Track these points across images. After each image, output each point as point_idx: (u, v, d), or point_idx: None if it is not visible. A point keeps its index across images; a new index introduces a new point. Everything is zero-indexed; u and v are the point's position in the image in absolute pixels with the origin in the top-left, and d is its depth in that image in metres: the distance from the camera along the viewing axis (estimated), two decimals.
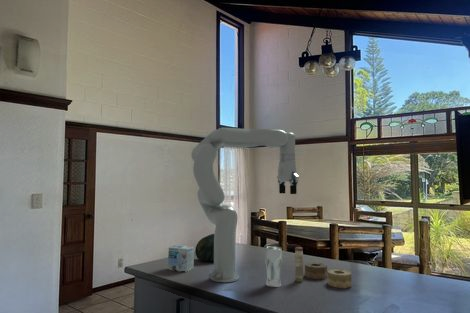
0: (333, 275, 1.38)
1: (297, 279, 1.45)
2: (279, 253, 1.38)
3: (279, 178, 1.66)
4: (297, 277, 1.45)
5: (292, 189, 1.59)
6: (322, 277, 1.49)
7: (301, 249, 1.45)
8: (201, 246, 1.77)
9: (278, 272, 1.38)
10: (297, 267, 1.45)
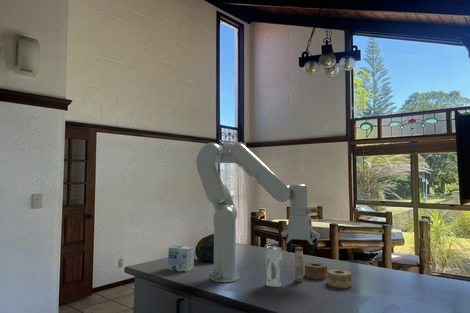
0: (333, 275, 1.38)
1: (297, 279, 1.45)
2: (279, 253, 1.38)
3: None
4: (297, 277, 1.45)
5: None
6: (322, 277, 1.49)
7: (301, 249, 1.45)
8: (201, 246, 1.77)
9: (278, 272, 1.38)
10: (297, 267, 1.45)
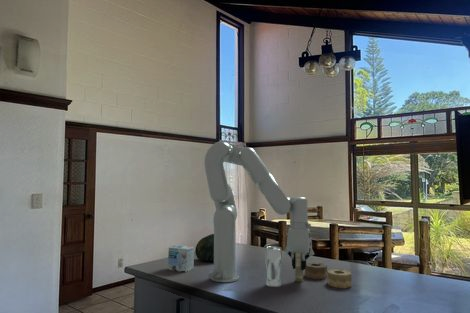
0: (333, 275, 1.38)
1: (297, 279, 1.45)
2: (279, 253, 1.38)
3: None
4: (297, 277, 1.45)
5: None
6: (322, 277, 1.49)
7: None
8: (201, 246, 1.77)
9: (278, 272, 1.38)
10: (297, 267, 1.45)
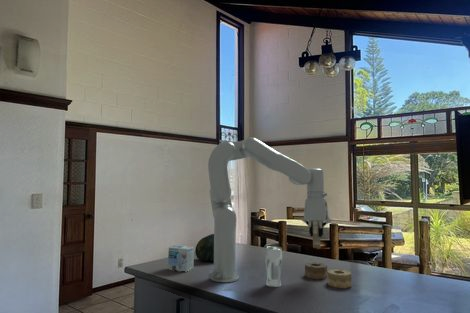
0: (333, 275, 1.38)
1: (315, 245, 1.53)
2: (279, 253, 1.38)
3: None
4: (314, 244, 1.53)
5: None
6: (322, 277, 1.49)
7: None
8: (201, 246, 1.77)
9: (278, 272, 1.38)
10: (315, 234, 1.53)
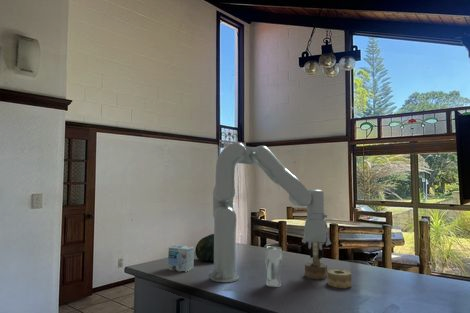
0: (333, 275, 1.38)
1: None
2: (279, 253, 1.38)
3: None
4: None
5: None
6: (322, 277, 1.49)
7: None
8: (201, 246, 1.77)
9: (278, 272, 1.38)
10: (314, 256, 1.53)
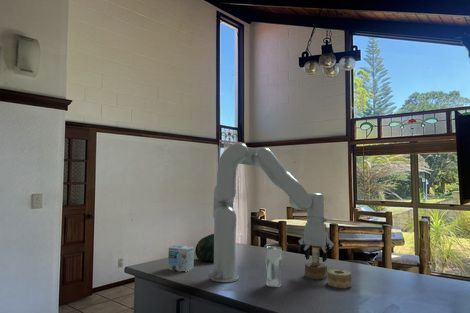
0: (333, 275, 1.38)
1: None
2: (279, 253, 1.38)
3: None
4: None
5: None
6: (322, 277, 1.49)
7: (318, 246, 1.53)
8: (201, 246, 1.77)
9: (278, 272, 1.38)
10: (314, 263, 1.52)
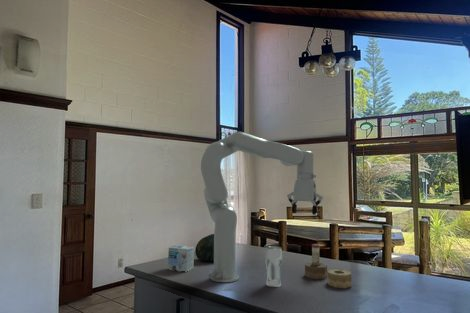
0: (333, 275, 1.38)
1: None
2: (279, 253, 1.38)
3: None
4: None
5: None
6: (322, 277, 1.49)
7: (318, 246, 1.53)
8: (201, 246, 1.77)
9: (278, 272, 1.38)
10: (314, 263, 1.52)
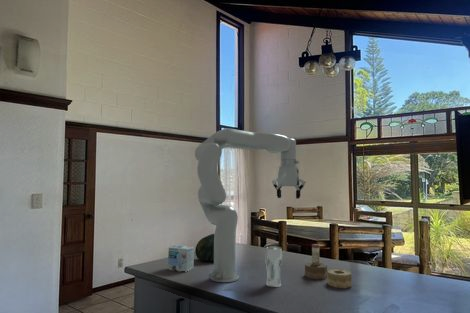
0: (333, 275, 1.38)
1: None
2: (279, 253, 1.38)
3: None
4: None
5: None
6: (322, 277, 1.49)
7: (318, 246, 1.53)
8: (201, 246, 1.77)
9: (278, 272, 1.38)
10: (314, 263, 1.52)
